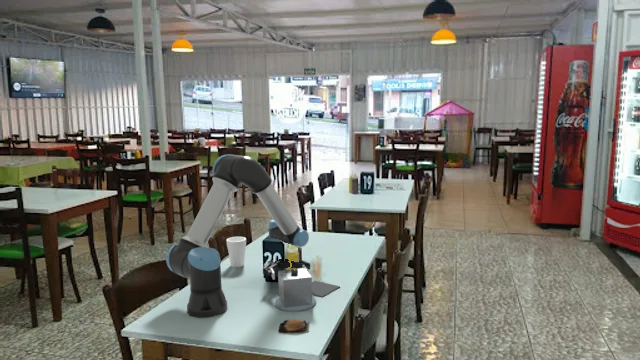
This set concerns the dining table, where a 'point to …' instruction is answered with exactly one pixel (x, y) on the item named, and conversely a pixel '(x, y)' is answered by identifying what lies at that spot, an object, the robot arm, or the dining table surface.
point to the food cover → (295, 287)
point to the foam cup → (236, 250)
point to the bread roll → (294, 326)
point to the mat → (322, 288)
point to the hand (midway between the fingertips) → (290, 274)
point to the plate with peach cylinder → (296, 308)
